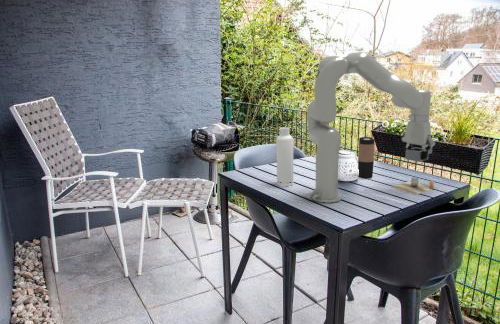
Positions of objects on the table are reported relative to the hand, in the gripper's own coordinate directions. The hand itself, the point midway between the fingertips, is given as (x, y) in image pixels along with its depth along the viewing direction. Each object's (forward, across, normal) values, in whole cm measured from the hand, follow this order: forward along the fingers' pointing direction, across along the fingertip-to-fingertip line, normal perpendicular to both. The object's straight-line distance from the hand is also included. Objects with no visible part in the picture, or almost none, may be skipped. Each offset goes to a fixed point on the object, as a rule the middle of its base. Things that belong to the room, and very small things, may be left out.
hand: (416, 157), depth 172 cm
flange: (+1, 0, +3) cm, 3 cm away
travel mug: (+15, -27, -2) cm, 31 cm away
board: (+15, 0, -2) cm, 15 cm away
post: (+14, 0, 0) cm, 14 cm away
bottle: (+15, -42, -42) cm, 61 cm away
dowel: (+14, +6, +3) cm, 15 cm away
